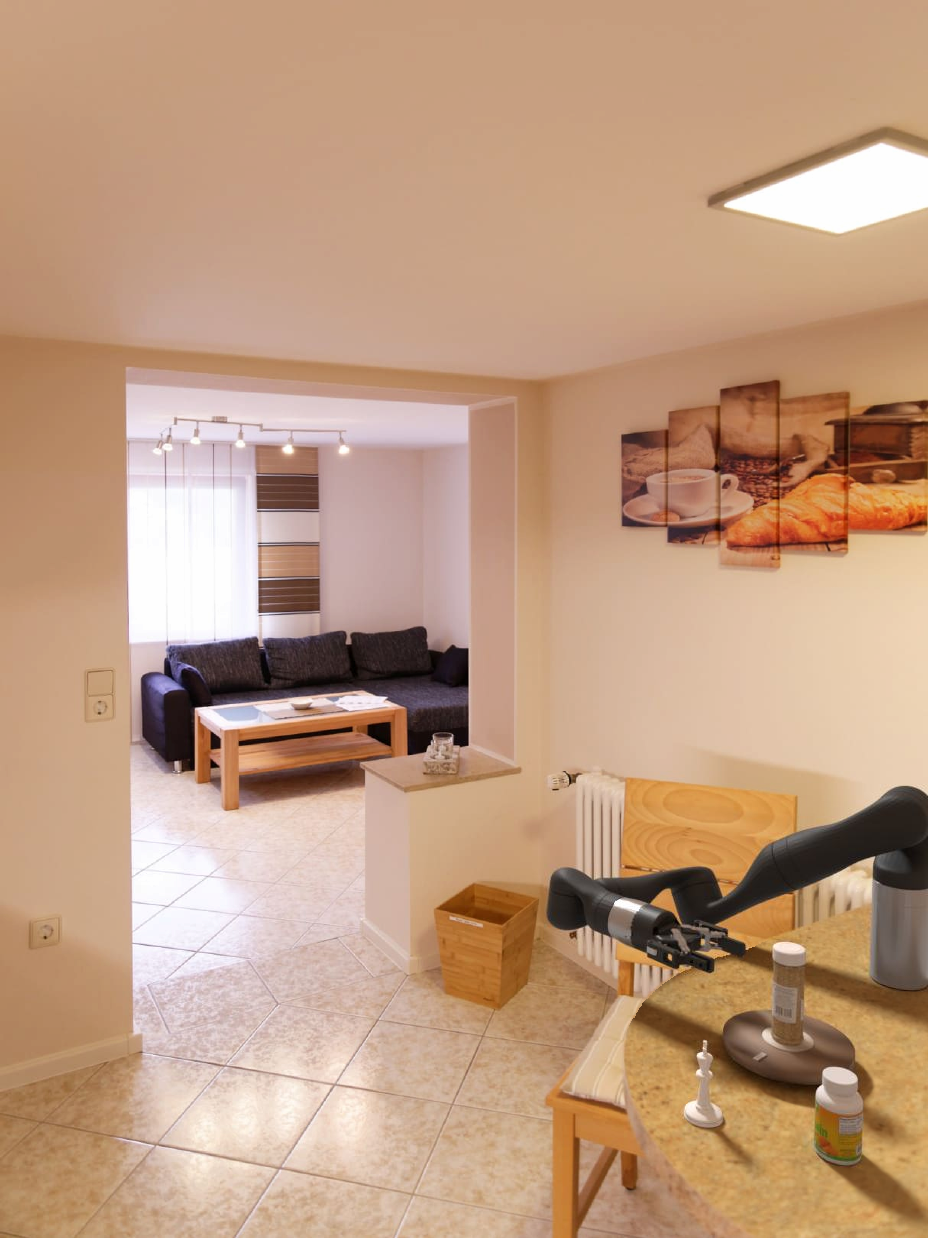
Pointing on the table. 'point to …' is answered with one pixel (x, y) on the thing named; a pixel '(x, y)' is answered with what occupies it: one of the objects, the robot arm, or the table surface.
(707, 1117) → the chess piece
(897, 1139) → the table surface
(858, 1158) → the supplement bottle
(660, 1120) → the table surface
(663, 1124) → the table surface
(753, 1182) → the table surface
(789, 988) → the sprinkles bottle
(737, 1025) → the turntable platter
